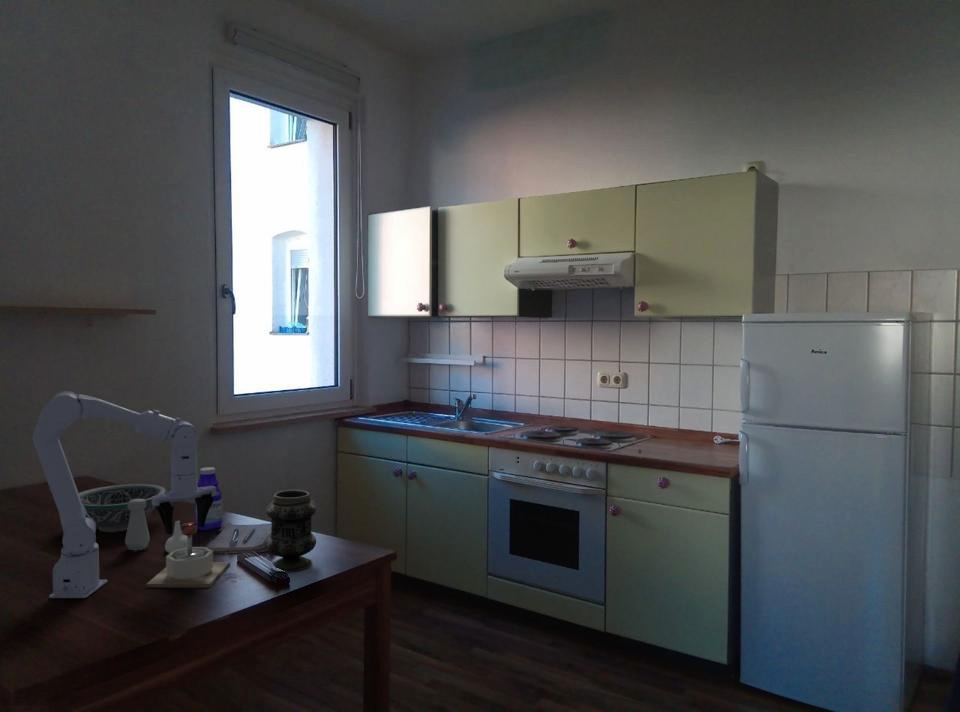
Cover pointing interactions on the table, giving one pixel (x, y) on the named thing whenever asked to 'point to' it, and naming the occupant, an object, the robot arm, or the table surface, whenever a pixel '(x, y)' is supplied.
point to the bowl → (117, 504)
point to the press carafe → (189, 565)
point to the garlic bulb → (176, 539)
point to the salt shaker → (137, 526)
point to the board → (203, 581)
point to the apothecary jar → (291, 529)
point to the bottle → (216, 508)
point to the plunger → (189, 543)
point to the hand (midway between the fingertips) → (185, 529)
